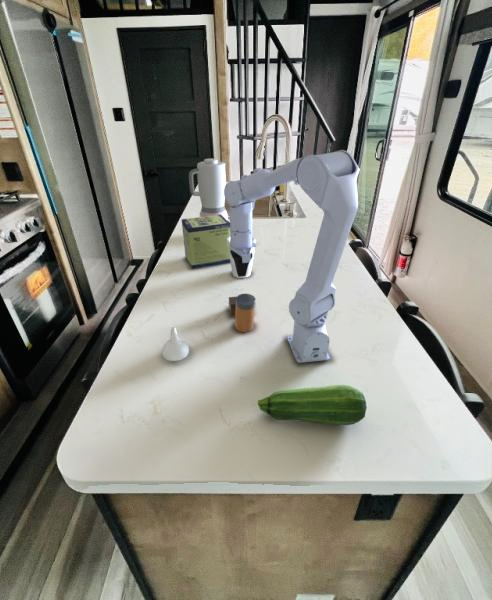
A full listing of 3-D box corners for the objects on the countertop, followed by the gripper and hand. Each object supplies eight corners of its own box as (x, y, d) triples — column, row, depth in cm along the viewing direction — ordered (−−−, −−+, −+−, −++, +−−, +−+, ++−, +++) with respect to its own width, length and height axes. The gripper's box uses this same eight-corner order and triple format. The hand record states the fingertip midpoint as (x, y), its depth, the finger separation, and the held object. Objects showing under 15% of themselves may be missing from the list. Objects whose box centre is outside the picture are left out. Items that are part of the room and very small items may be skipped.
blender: (222, 230, 149) (219, 156, 132) (233, 239, 139) (231, 160, 122) (190, 236, 143) (182, 159, 126) (198, 245, 134) (192, 163, 117)
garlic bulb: (163, 366, 74) (158, 339, 69) (162, 349, 79) (157, 323, 75) (191, 361, 75) (187, 334, 71) (187, 344, 80) (184, 318, 76)
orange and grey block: (228, 304, 89) (235, 290, 80) (245, 302, 90) (254, 288, 81) (235, 336, 86) (243, 325, 77) (253, 333, 88) (263, 322, 78)
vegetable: (372, 395, 55) (257, 388, 57) (369, 434, 56) (256, 427, 58) (360, 380, 63) (258, 375, 64) (358, 415, 63) (257, 409, 65)
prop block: (229, 308, 94) (228, 297, 92) (249, 306, 95) (249, 295, 92) (230, 316, 90) (230, 304, 88) (251, 314, 91) (251, 302, 89)
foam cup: (223, 276, 111) (221, 241, 104) (235, 265, 118) (235, 232, 111) (247, 282, 107) (248, 246, 100) (259, 271, 114) (260, 236, 107)
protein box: (231, 262, 120) (230, 222, 112) (191, 269, 115) (187, 228, 107) (222, 251, 128) (221, 213, 120) (184, 258, 123) (180, 218, 115)
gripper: (263, 237, 77) (261, 286, 84) (250, 218, 89) (250, 262, 96) (234, 239, 76) (235, 289, 83) (225, 220, 88) (226, 265, 95)
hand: (241, 275), depth 90 cm, fingers closed
